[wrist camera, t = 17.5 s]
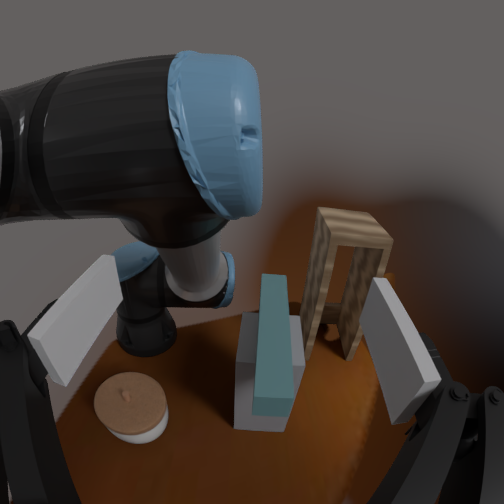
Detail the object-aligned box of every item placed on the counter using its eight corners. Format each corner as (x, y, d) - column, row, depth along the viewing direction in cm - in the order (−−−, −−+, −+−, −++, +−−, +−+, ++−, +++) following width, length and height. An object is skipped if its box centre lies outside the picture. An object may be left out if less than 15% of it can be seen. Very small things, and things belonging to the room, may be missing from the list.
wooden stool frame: (351, 360, 59) (393, 239, 45) (302, 360, 59) (331, 233, 46) (340, 320, 72) (368, 212, 59) (298, 318, 73) (317, 206, 59)
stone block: (283, 431, 42) (305, 365, 34) (233, 428, 43) (235, 361, 34) (283, 388, 52) (299, 315, 43) (239, 385, 52) (242, 311, 43)
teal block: (287, 416, 26) (294, 398, 25) (251, 415, 27) (254, 396, 25) (283, 295, 48) (286, 275, 46) (260, 293, 48) (262, 273, 46)
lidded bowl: (154, 464, 34) (137, 440, 29) (98, 432, 37) (75, 401, 32) (185, 414, 45) (177, 381, 40) (131, 389, 48) (117, 354, 43)
